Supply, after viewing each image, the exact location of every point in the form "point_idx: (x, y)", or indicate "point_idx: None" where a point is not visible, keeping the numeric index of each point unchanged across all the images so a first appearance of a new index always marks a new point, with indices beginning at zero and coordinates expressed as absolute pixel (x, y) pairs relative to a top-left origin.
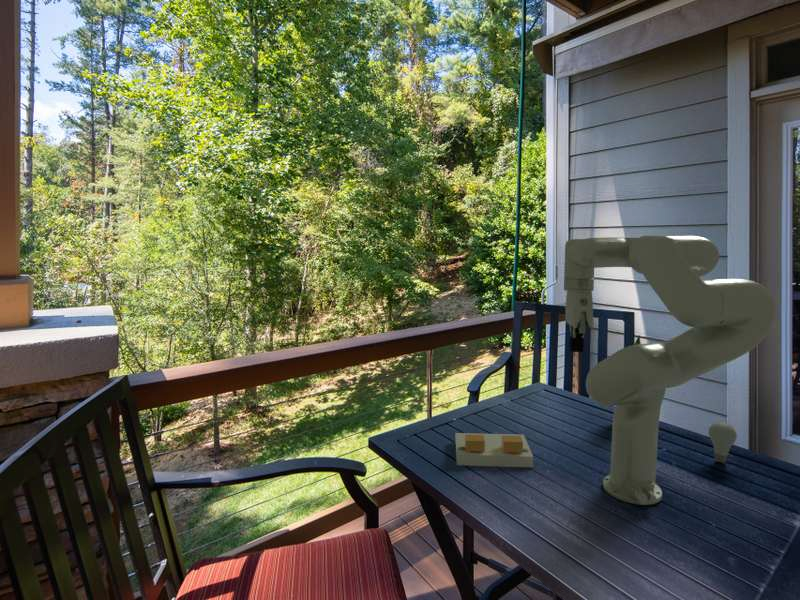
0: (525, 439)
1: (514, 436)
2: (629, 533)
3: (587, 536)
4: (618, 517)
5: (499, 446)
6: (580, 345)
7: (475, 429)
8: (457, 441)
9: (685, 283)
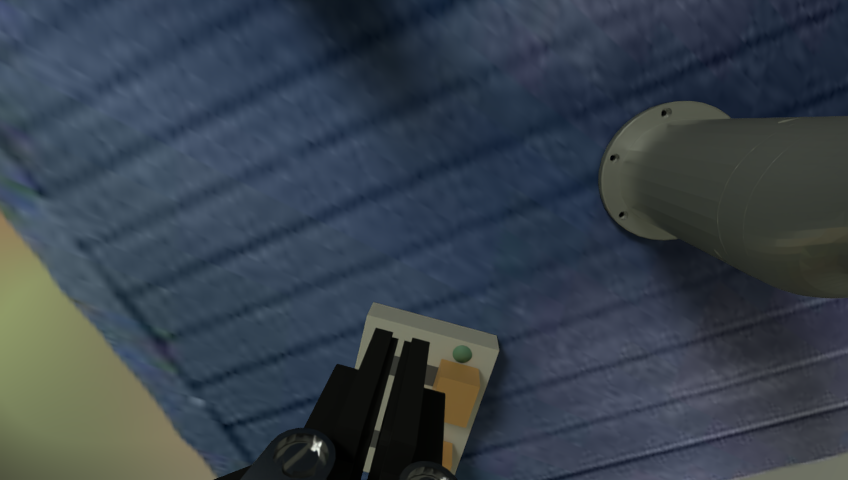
0: (398, 324)
1: (440, 391)
2: None
3: (769, 362)
4: None
5: None
6: (441, 420)
7: (269, 377)
8: None
9: None
